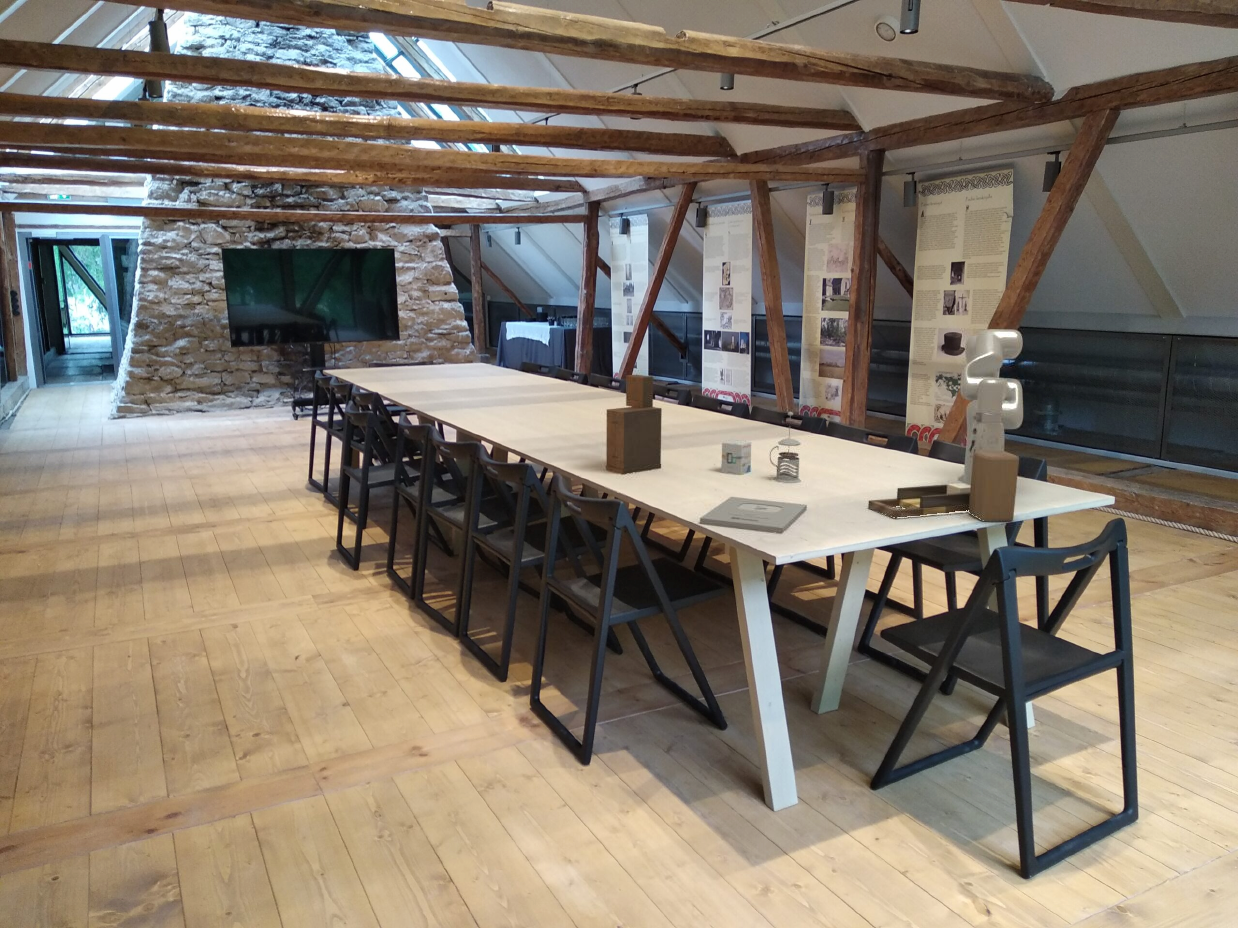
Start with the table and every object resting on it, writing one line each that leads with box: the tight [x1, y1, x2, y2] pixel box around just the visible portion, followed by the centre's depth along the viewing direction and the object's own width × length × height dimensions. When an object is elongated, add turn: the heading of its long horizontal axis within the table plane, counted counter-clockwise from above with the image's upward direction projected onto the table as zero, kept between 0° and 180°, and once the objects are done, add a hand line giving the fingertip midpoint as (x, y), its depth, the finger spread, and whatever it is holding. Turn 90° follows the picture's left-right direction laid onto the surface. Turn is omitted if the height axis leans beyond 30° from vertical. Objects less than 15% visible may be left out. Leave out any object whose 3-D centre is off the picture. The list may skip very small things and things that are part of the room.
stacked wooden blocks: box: [605, 374, 663, 475], centre depth 328 cm, size 19×14×35 cm
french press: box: [769, 411, 802, 484], centre depth 310 cm, size 10×12×25 cm
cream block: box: [946, 482, 971, 494], centre depth 273 cm, size 6×6×4 cm
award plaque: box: [699, 496, 808, 534], centre depth 261 cm, size 25×30×2 cm
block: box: [969, 450, 1020, 522], centre depth 259 cm, size 10×10×20 cm
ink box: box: [720, 439, 752, 476], centre depth 324 cm, size 8×8×12 cm
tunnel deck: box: [867, 484, 970, 518], centre depth 270 cm, size 14×35×6 cm, turn 108°
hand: (983, 476), depth 273 cm, fingers closed
